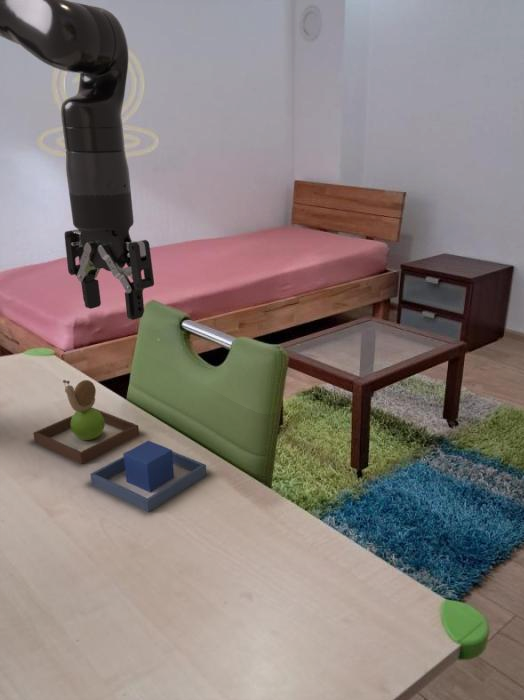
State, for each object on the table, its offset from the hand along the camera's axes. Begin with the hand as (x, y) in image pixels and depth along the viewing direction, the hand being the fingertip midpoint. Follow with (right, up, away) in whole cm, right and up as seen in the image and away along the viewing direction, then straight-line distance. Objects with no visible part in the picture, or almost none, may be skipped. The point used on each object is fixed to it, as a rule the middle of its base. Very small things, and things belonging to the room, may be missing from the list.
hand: (113, 312), depth 87 cm
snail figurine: (-10, -19, +20) cm, 30 cm away
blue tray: (+3, -25, +9) cm, 26 cm away
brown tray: (-10, -19, +20) cm, 30 cm away
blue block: (+3, -24, +9) cm, 26 cm away
